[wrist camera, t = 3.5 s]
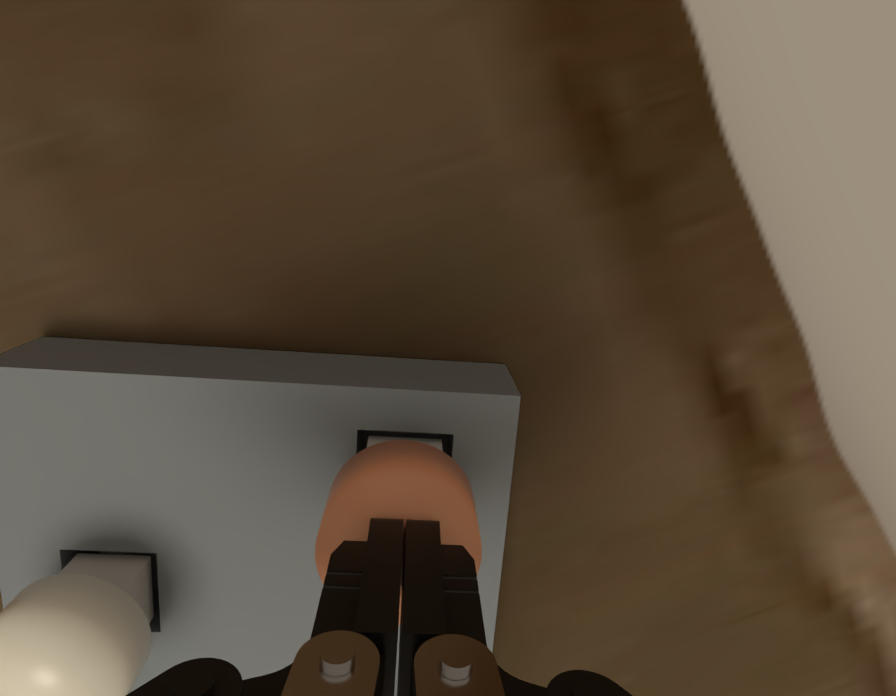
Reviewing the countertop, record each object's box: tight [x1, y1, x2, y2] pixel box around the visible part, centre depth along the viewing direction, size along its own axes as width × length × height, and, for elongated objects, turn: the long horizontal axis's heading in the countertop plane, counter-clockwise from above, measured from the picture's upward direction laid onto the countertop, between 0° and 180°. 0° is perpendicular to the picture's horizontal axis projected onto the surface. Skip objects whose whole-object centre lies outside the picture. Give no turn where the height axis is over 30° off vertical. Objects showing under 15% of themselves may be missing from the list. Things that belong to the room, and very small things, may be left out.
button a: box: [315, 436, 482, 625], centre depth 15 cm, size 4×4×4 cm
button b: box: [0, 553, 154, 696], centre depth 16 cm, size 4×4×4 cm
